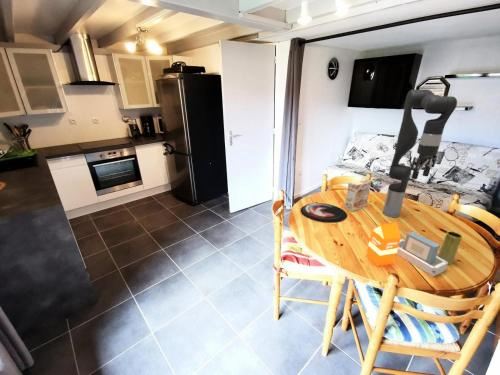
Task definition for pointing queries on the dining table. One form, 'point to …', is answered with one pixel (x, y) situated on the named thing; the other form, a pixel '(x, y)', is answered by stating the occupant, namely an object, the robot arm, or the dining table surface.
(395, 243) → the orange juice
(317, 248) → the dining table surface
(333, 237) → the dining table surface
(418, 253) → the pale blue flat slab
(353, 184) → the coffeecake box
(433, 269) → the white rectangular tray
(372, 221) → the dining table surface
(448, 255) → the vase
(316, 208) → the wall clock
